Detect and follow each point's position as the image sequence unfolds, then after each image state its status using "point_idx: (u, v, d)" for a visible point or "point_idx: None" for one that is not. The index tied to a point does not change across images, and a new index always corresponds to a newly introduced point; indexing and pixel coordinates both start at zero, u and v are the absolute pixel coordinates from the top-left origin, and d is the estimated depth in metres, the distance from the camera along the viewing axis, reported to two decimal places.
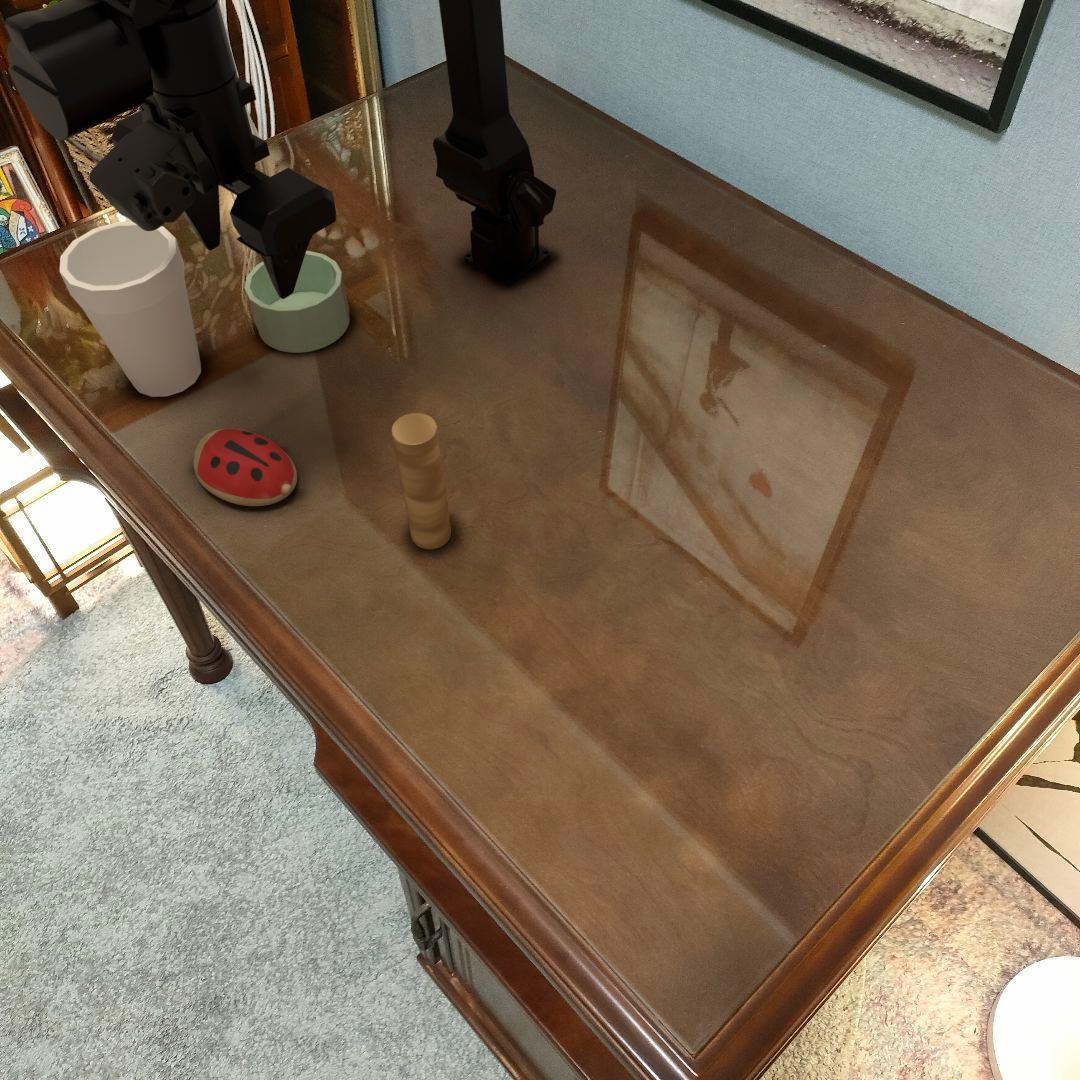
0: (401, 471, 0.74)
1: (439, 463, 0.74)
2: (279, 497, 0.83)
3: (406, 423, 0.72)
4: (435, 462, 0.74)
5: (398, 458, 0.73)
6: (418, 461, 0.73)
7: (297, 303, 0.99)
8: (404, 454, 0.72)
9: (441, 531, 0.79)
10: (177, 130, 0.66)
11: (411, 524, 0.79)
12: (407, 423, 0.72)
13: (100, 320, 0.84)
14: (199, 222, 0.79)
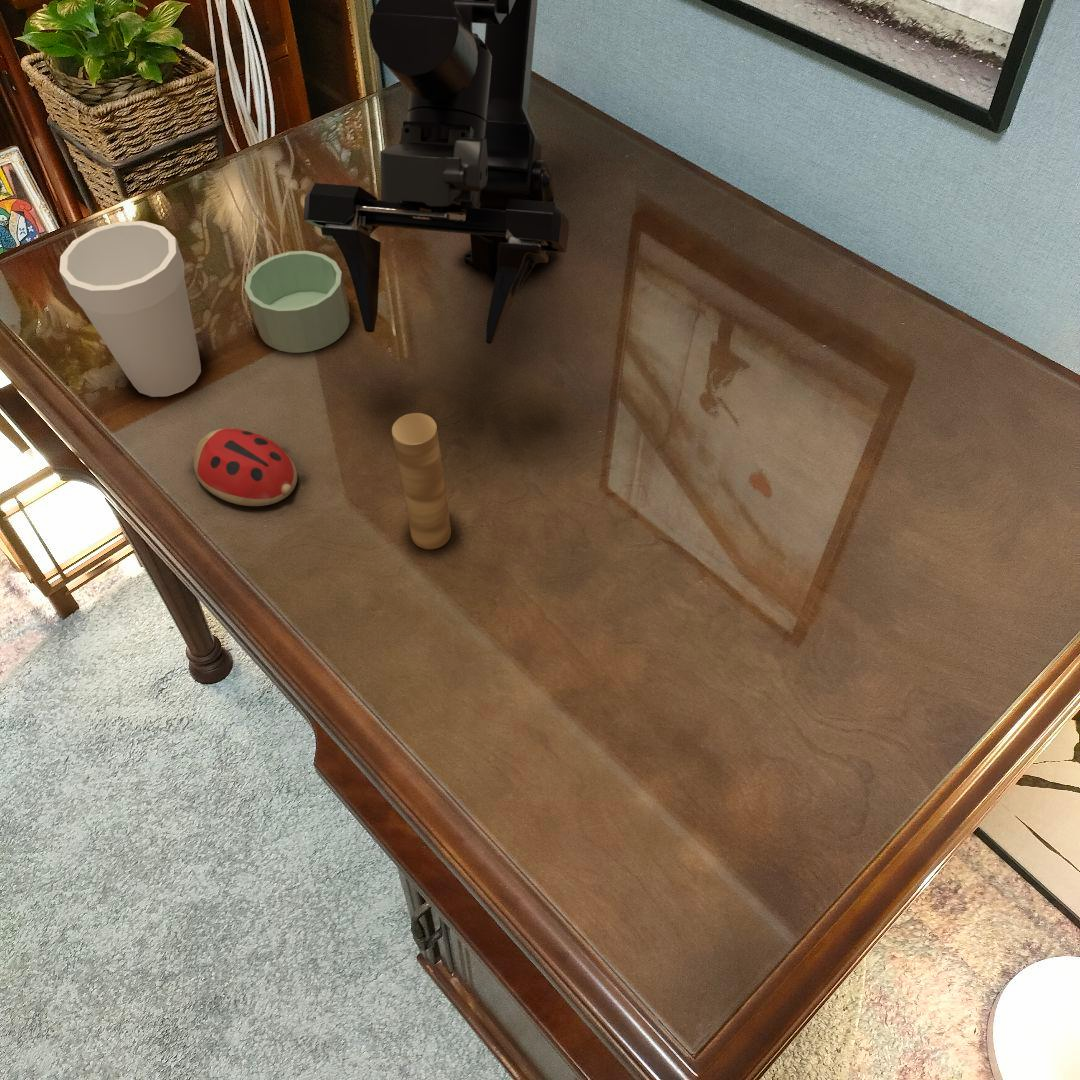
0: (401, 471, 0.74)
1: (439, 463, 0.74)
2: (279, 497, 0.83)
3: (406, 423, 0.72)
4: (435, 462, 0.74)
5: (398, 458, 0.73)
6: (418, 461, 0.73)
7: (297, 303, 0.99)
8: (404, 454, 0.72)
9: (441, 531, 0.79)
10: (460, 137, 0.71)
11: (411, 524, 0.79)
12: (407, 423, 0.72)
13: (100, 320, 0.84)
14: (370, 296, 0.76)
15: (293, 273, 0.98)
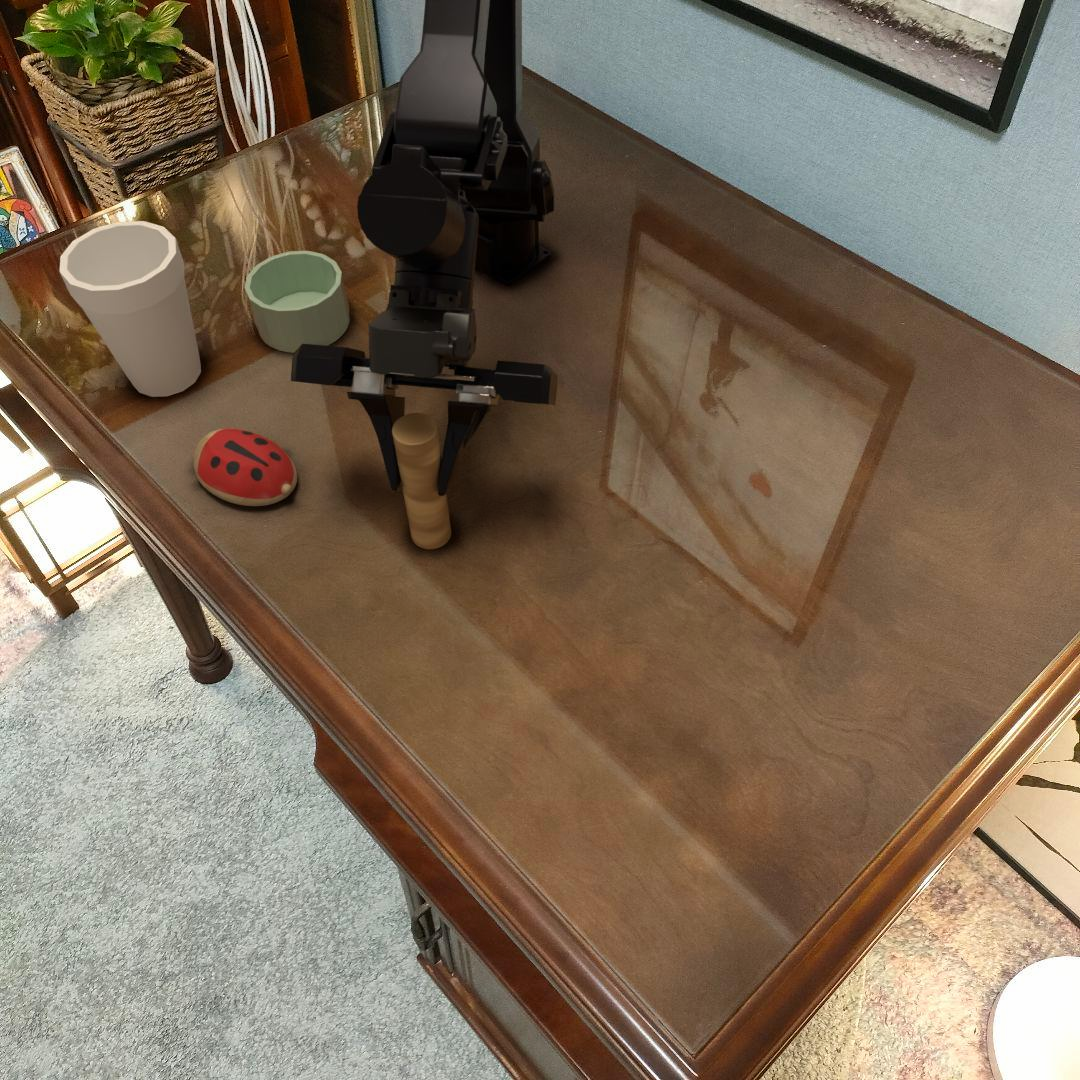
0: (401, 471, 0.74)
1: (439, 463, 0.74)
2: (279, 497, 0.83)
3: (406, 423, 0.72)
4: (435, 463, 0.74)
5: (398, 458, 0.73)
6: (418, 461, 0.73)
7: (297, 303, 0.99)
8: (404, 455, 0.72)
9: (441, 531, 0.79)
10: (448, 301, 0.71)
11: (411, 524, 0.79)
12: (407, 423, 0.72)
13: (100, 320, 0.84)
14: None
15: (293, 273, 0.98)
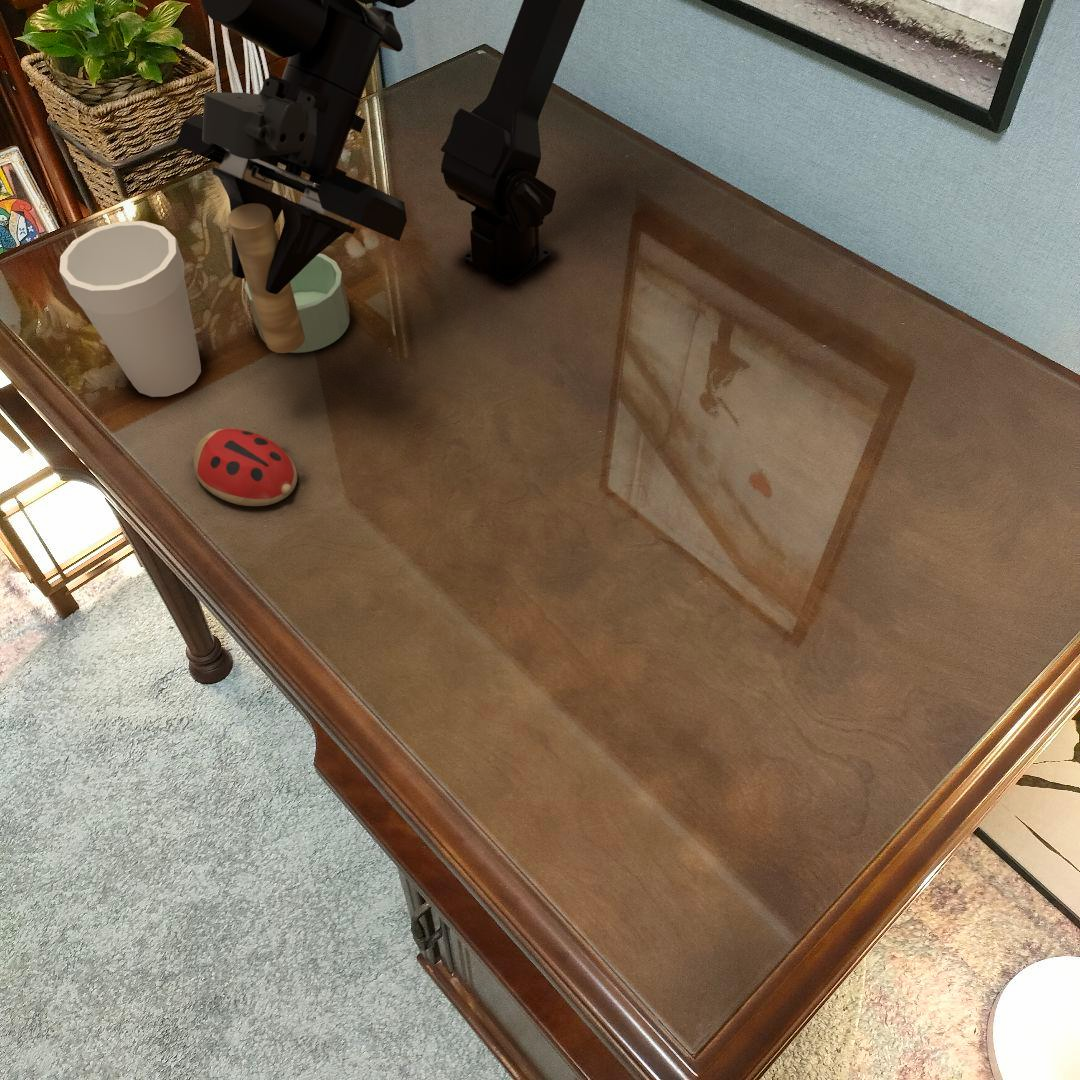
0: None
1: None
2: (280, 497, 0.83)
3: (247, 210, 0.75)
4: (265, 257, 0.76)
5: None
6: (244, 247, 0.75)
7: (297, 303, 0.99)
8: (233, 237, 0.75)
9: (282, 335, 0.82)
10: (306, 100, 0.72)
11: None
12: (247, 210, 0.75)
13: (100, 320, 0.84)
14: None
15: None
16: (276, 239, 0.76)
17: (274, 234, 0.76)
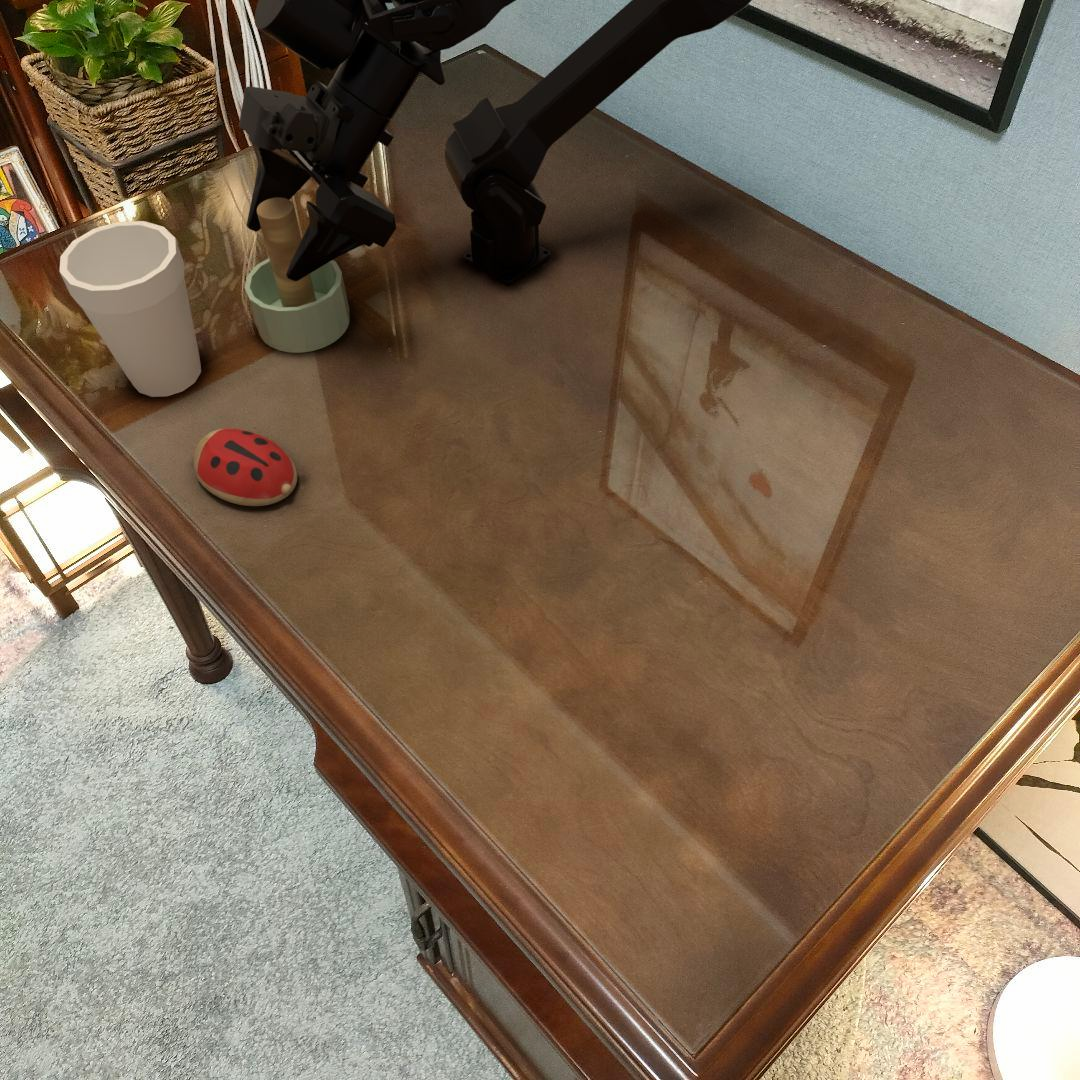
0: None
1: (287, 248, 0.90)
2: (279, 497, 0.83)
3: (276, 202, 0.89)
4: (281, 244, 0.89)
5: None
6: (265, 233, 0.89)
7: None
8: None
9: None
10: (332, 110, 0.83)
11: None
12: (276, 202, 0.89)
13: (100, 320, 0.84)
14: None
15: None
16: (294, 232, 0.89)
17: (292, 228, 0.89)
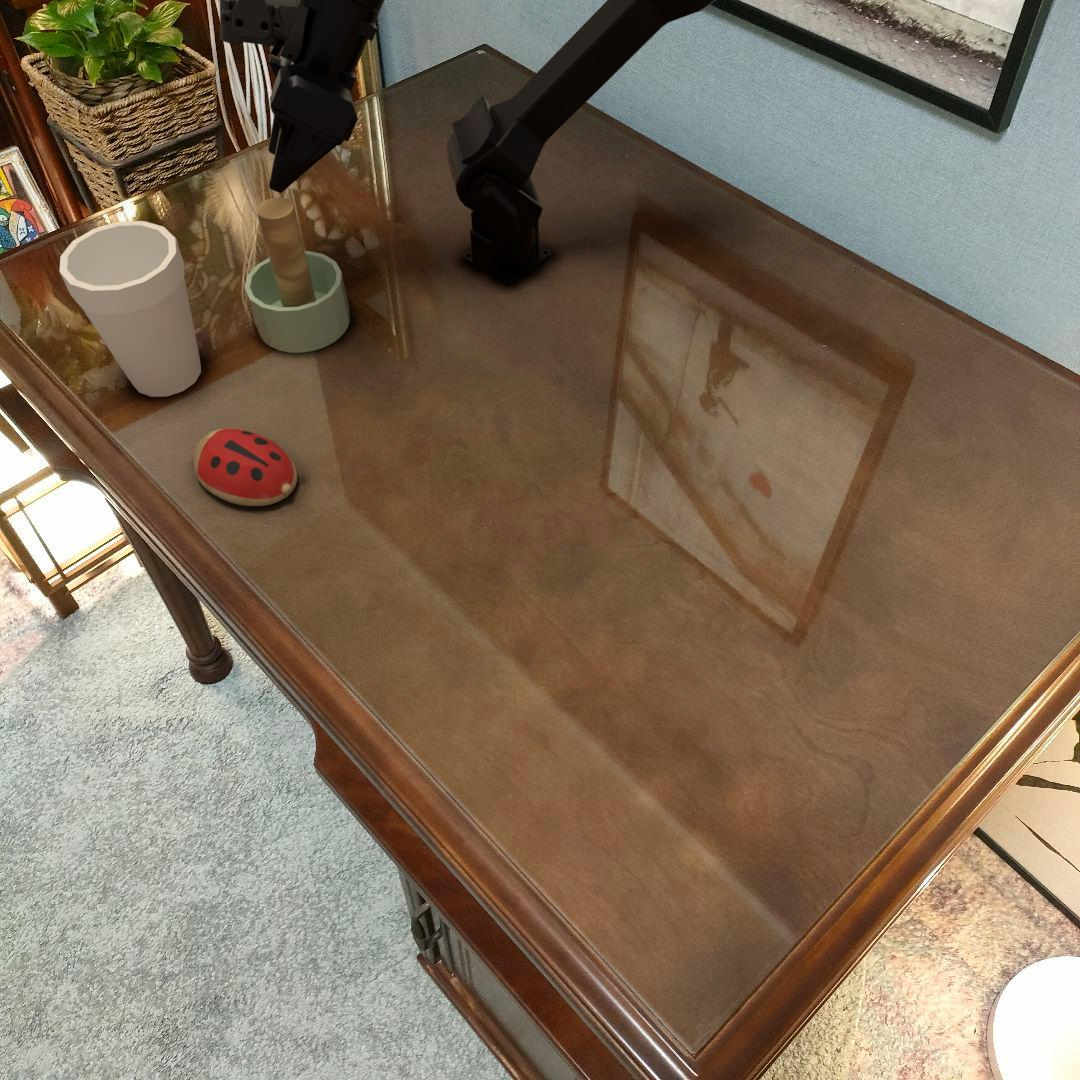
0: None
1: (287, 248, 0.90)
2: (280, 497, 0.83)
3: (276, 202, 0.89)
4: (281, 244, 0.89)
5: None
6: (265, 233, 0.89)
7: None
8: None
9: None
10: None
11: None
12: (277, 202, 0.89)
13: (100, 320, 0.84)
14: (279, 124, 0.90)
15: None
16: (294, 232, 0.89)
17: (292, 228, 0.89)
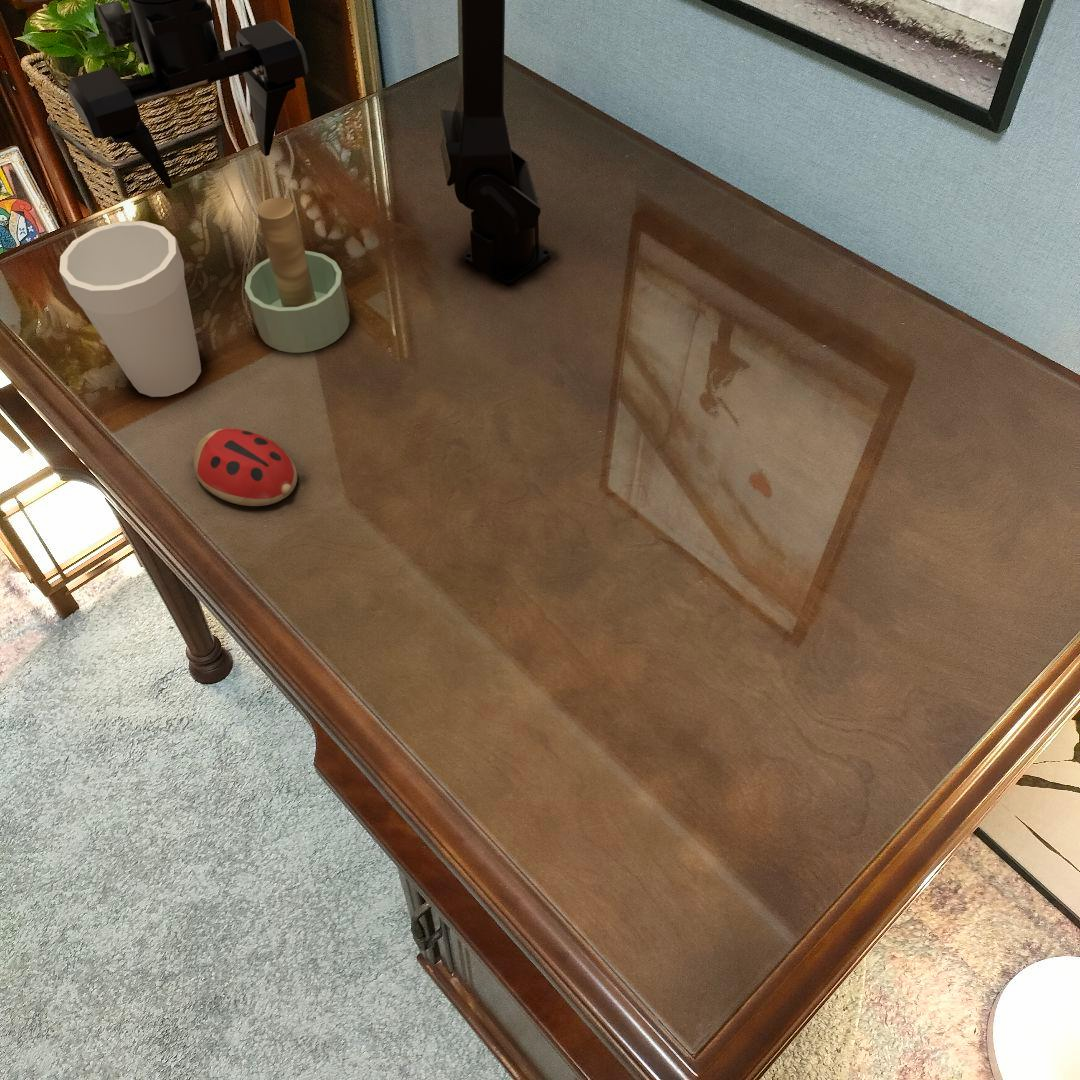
0: None
1: (287, 248, 0.90)
2: (280, 497, 0.83)
3: (276, 202, 0.89)
4: (281, 244, 0.89)
5: None
6: (265, 233, 0.89)
7: None
8: None
9: None
10: None
11: None
12: (277, 202, 0.89)
13: (100, 320, 0.84)
14: (256, 124, 0.91)
15: None
16: (294, 232, 0.89)
17: (292, 228, 0.89)
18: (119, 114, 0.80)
